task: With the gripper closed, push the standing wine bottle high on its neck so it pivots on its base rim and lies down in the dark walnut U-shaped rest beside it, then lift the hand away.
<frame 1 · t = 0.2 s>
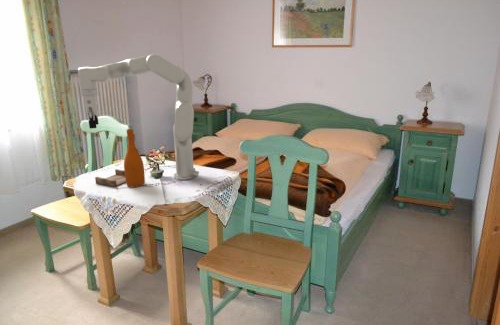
hand: (94, 126, 198), 31 cm above the table, tool pointing down, fingers open, 9 cm apart
wine bottle: (135, 185, 204), on the table
u rest: (116, 181, 211), on the table
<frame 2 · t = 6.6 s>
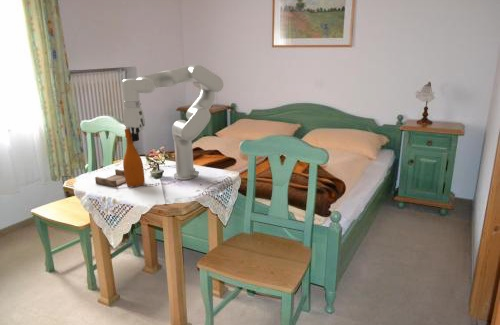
hand: (135, 140, 196), 24 cm above the table, tool pointing down, fingers closed
wine bottle: (135, 184, 204), on the table, touching gripper
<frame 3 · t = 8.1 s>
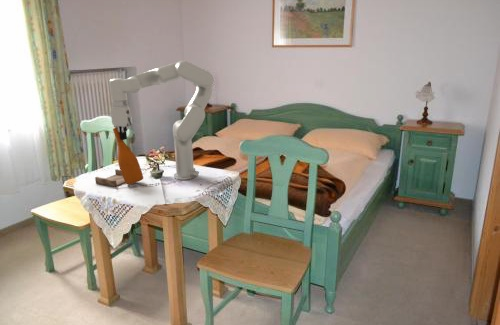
hand: (123, 139, 199), 24 cm above the table, tool pointing down, fingers closed
wine bottle: (135, 182, 204), point 1 cm above the table, touching gripper
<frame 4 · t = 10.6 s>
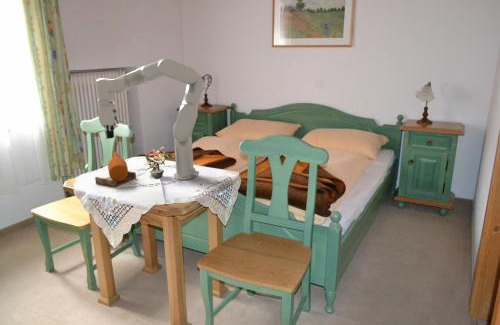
hand: (110, 137, 203), 24 cm above the table, tool pointing down, fingers closed
wine bottle: (118, 174, 202), point 6 cm above the table, touching u rest
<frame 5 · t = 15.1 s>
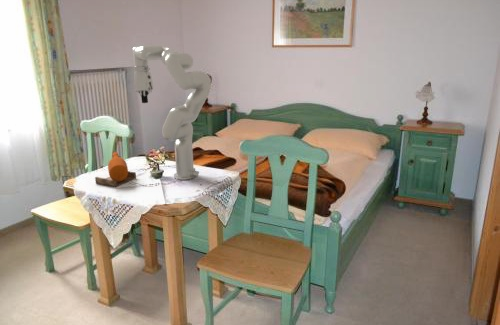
hand: (145, 102, 220), 39 cm above the table, tool pointing down, fingers closed
nothing on the table moved.
at the end: wine bottle tilted 84°; wine bottle inside the target area (4.4 cm from its centre), point 6.2 cm above the table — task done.
